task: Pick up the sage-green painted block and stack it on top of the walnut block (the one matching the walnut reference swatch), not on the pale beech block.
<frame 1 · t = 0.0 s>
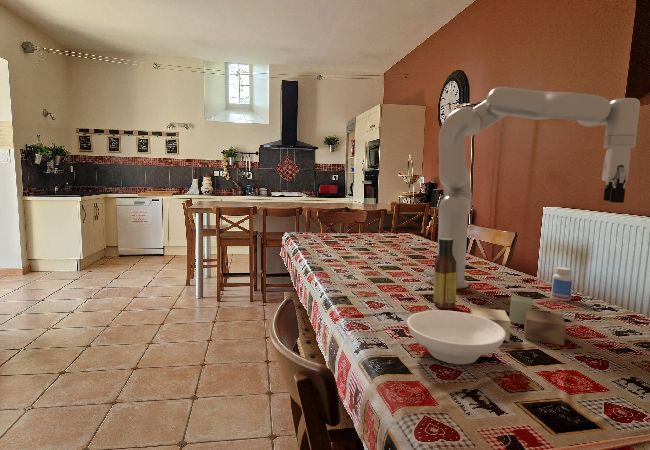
hand: (613, 201, 122), 31 cm above the table, fingers open, 9 cm apart
beech block: (488, 333, 100), on the table
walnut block: (542, 337, 99), on the table
bowl: (452, 357, 87), on the table
sage block: (519, 321, 109), on the table
pill bottle: (560, 299, 131), on the table
reference swatch: (482, 317, 111), on the table
sauce bottle: (443, 306, 120), on the table
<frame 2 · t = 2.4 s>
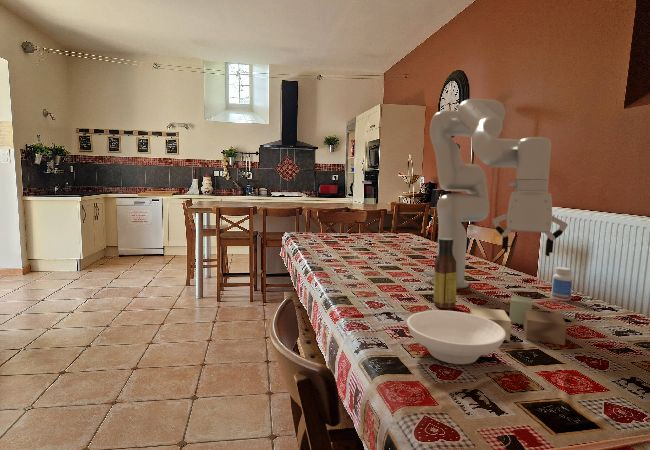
hand: (526, 253, 107), 18 cm above the table, fingers open, 9 cm apart
nothing on the table moved.
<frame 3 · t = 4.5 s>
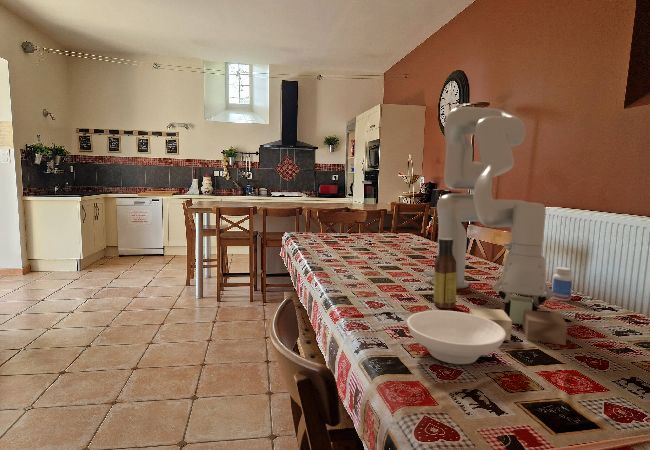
hand: (519, 317, 109), 1 cm above the table, fingers closed on sage block, 5 cm apart
sage block: (519, 320, 109), on the table, touching gripper
everything else where it was.
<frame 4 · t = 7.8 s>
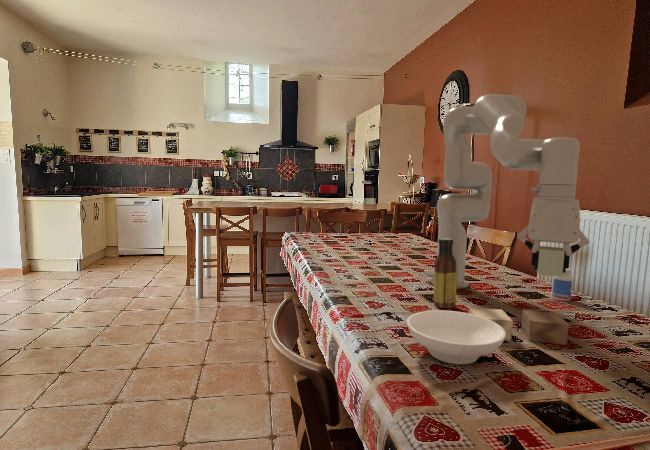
hand: (549, 269, 97), 16 cm above the table, fingers closed on sage block, 5 cm apart
sage block: (548, 273, 97), point 15 cm above the table, touching gripper
everything else where it was.
when the fingers open (7 cm above the table, at t = 11.1 s): sage block drops 1 cm, resting on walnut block.
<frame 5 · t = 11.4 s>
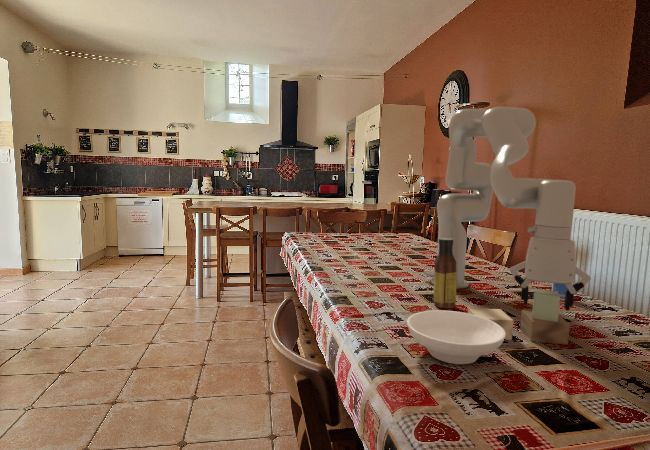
hand: (545, 305, 98), 8 cm above the table, fingers open, 8 cm apart
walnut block: (542, 337, 99), on the table, touching sage block
sage block: (544, 317, 98), point 5 cm above the table, touching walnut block
everything else where it was.
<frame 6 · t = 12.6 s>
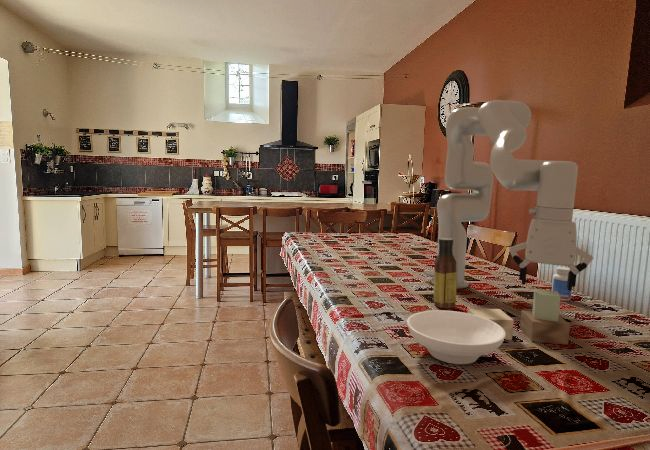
hand: (545, 286, 98), 12 cm above the table, fingers open, 9 cm apart
nothing on the table moved.
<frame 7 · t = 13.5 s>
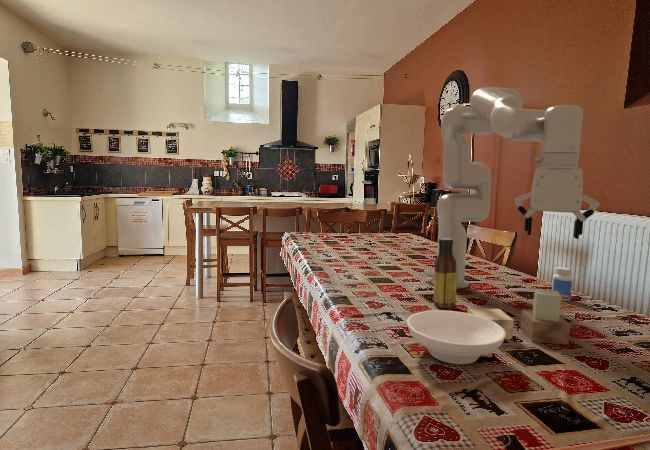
hand: (551, 236, 96), 24 cm above the table, fingers open, 9 cm apart
nothing on the table moved.
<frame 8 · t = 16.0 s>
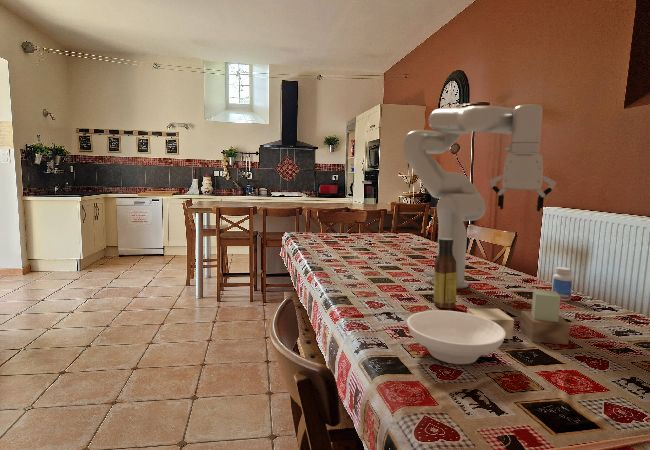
hand: (519, 210, 119), 28 cm above the table, fingers open, 9 cm apart
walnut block: (542, 337, 99), on the table
sage block: (544, 317, 98), point 5 cm above the table
everything else where it was.
at the end: sage block inside the target area on the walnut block (0.2 cm from its centre), point 5.0 cm above the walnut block's base; sage block tilted 0°; the gripper is holding nothing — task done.
